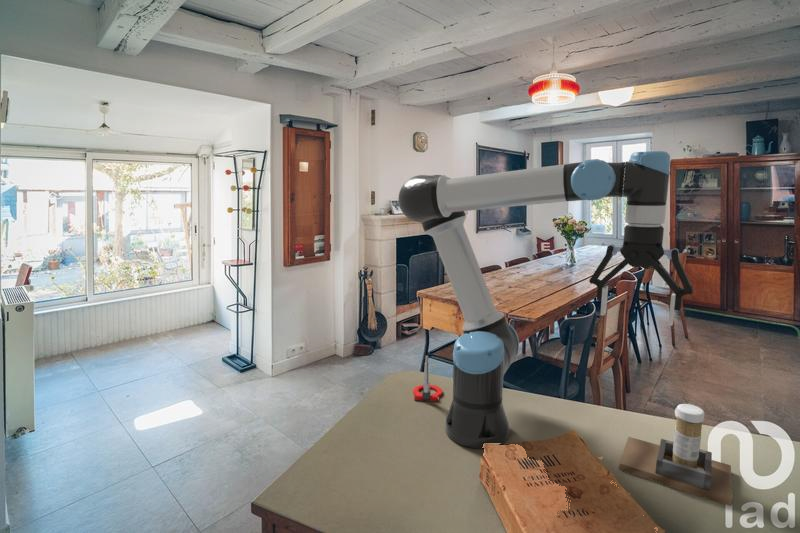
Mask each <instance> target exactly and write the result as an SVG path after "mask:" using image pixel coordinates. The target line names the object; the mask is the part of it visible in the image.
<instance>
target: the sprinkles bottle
mask: <svg viewBox="0 0 800 533" xmlns="http://www.w3.org/2000/svg"><path fill="white" fill-rule="evenodd" d="M675 415H676V425H675V430H674V437H673V442H674V444H673V458H672V462H675V463H679V464H682V465H685V466H689V467H692V468H696V469H697V461H698V457H699V450H700V449H701V440H702V428H703V423H704V420H705V411H704V410H703V409H702V408H701V407H699V406H697V405H694V404H690V403H680V404H678V405H677V406H676V414H675Z"/></svg>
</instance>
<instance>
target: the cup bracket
mask: <svg viewBox="0 0 800 533" xmlns="http://www.w3.org/2000/svg"><path fill="white" fill-rule="evenodd" d="M673 444H674V441H671V440H667V439H664V438H661V439H660V443H659V444H657V443H652V442H649V441H646V440H642V439H638V438H635V437H632V436H627V440H626V442H625V446H624V449H623V452H622V455H621V458H620V460H619V465H618V470H619V471H621V470H623V471H622V472H624V471H626V472H625V473H627V472H629V473H628V474H631V475H634V476H638V477H640V478H643V479H646V478H647V479H646V480H649V479H650V480H649V481H652V480H653V482H655V481H657V482H656V483H658V482H660V483H659V484H662V483H663V484H662V485H665V484H666V485H665V486H668V487H671V486H672V487H671V488H675V489H677V490H681V491H684V492H687V493H689V494H693V495H696V496H700V497H702V498H704V499H709V500H711V501H715V502H718V503H719V504H720V503H721V504H724V505H727V506H730V507H732V505H733V483H732V466H731V464H727V463H724V462H721V461H717V460H714V459H712V455H713V452H712V451H709V450H708V451H707V450H705V449H701V448H700V450H699V457H698V461H697V469H696V468H692V467H689V466H685V465H682V464H679V463H675V462H672V458H673Z"/></svg>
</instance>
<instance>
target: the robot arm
mask: <svg viewBox="0 0 800 533" xmlns="http://www.w3.org/2000/svg"><path fill="white" fill-rule="evenodd" d="M670 163H671V156H670V154H669V152H667V151H662V150H659V151H658V150H657V151H656V150H653V151H652V150H651V151H649V150H647V151H635V152H632V153H631V155H630V158H629V160H628V161H625V162H624V161H622V162H607V161H605V160H601V159H597V158H596V159H594V158H593V159H587V160H584V161H580V162H573V163H572V162H571V163H565V164H556V165H549V166H548V165H547V166H540V167H539V166H538V167H532V168H525V169H517V170H509V171H502V172H501V171H500V172H495V173H493V172H491V173H486V174H478V175H471V176H470V175H469V176H465V177H464V176H462V177H456V178H451V177H448V176H446V175H444V174H443V175H442V174H434V175H429V174H428V175H427V174H419V175H415V176H412V177H410V178H409V179H407V180H406V181H405V182H404V183H403V184H402V186H401V187H400V189H399V193H398V200H397V201H398V205H399V208H400V211H401V212H402V213H403V215H404V216H405V217H406V218H407V219H409V220H411V221H413V222H415V223H421V226H422V228H423V231H424V233H425V234H427V236H431V237H432V238H433V241H434V245H435V246H436V249H437V251H438V254H439V256H440V259H441V263H442V264H443V268H444V269H445V272H446V275H447V277H448V280H449V282H450V283H449V284H450V285H451V288H452V290H453V293H454V295H455V297H456V301H457V303H458V305H459V308H460V311H461V313H462V317H463V318H464V324H463V326H462V328H461V329H462V332H463V334H461V335H460V336H459V337H458V338H456V340H455V342H454V343H453V344H454V345H453V350H452V360H453V361H452V362H453V366H452V368H453V369H452V371H453V372H452V373H453V374H452V376H453V378H452V381H453V382H452V383H453V385H452V387H453V388H452V401H451V403H450V406H449V410H448V413H447V415H446V417H445V433H446V435H447V436H448V437H449V438H450V439H451V440H452V441H453V442H455V443H457V444H458V445H461V446H464V447H466V448H471V449H481V450H482V447H483V444H484V443H503V444H504V443H505V442H506V441H507V440H508V439H509V436H510V435H509V434H510V433H509V432H510V424H509V421H508V417H507V415H506V412H505V409H504V404H503V393H504V391H503V388H504V377H505V374H506V372H507V370H509V368H510V367H511V365H512V363H513V362H514V361H515V359H516V357H517V356H518V354H519V350H520V349H519V348H520V340H519V335H518V333H517V331H516V329H515V328H514V327H513V326H512V325H511V324H509V323H508V320H507V318H506V316H505V314H504V313H503V312H501V311H499V310H497V309H496V306H495V303H494V301H493V298H492V296H491V293H490V291H489V289H488V286H487V283H486V280H485V278H484V275H483V273H482V270H481V267H480V265H479V263H478V260H477V258H476V255H475V252H474V250H473V247H472V243H471V242H470V238H469V236H468V234H467V232H466V228H465V226H464V223H465V221H466V218H467V216H466V212H468V211H469V212H470V211H478V210H479V211H480V210H488V209H489V210H490V209H500V208H509V207H510V208H511V207H521V206H530V205H531V206H533V205H542V204H543V205H545V204H552V203H562V202H563V203H564V202H577V201H597V200H601V199H603V198H626V206H625V218H624V219H625V220H624V223H626V225H625V226H624V231H623V244H622V245H621V246H619V245H618V246H617V245H615V244H609V245H608V246H607V248H606V252H605V255H604V257H603V258H602V260H601V262H600V263H599V265H598V266H597V268H596V270H595V271H594V272H593V274H592V276H591V277H590V278H589V281H588V282H589V283H590V284H592V285H594V286H596V287H597V289H596V290H597V291H596V299H597V301H601V303H600V314H599V315H600V316H603V317H604V316H605V315H606V314H607V305H608V293H609V285H606V284H607V283H608V282H609V281H610V280H611V279H613V278H614V277H615V276H616V275H617V274H618V273H619V272H621V271H622V270H623V269H624V268H625V267H626V266H627V265H629V266H630V267H632V268H639V267H640V268H643V269H649V268H653V270H654V271H656V272H657V273H658V275H659V276H660V277H661V278H662V280H663V281H664V282H665V284H667V286H668V287H669V289H671V291H672V292H673V293H671V296H670V305H669V314H668V323H667V324H668V325H667V326H672V327H673V325H674V320H675V311H678V312H679V311H680V310H681V309H682V304H683V297H684V296H685V295H692V294H693V292H694V286H692V283H691V281H690V279H689V276H688V275H687V273H686V271H685V268H684V266H683V264H682V261H681V259H680V250H679V249H678V248H677V247H676V248H672V249H664V248H663V240H664V232H665V231H664V229H665V227H663V226H662V225H663V224H664V223H665V220H666V213H667V212H666V210H667V200H668V199H667V198H668V192H669V182H670V181H669V180H670V175H671V173H670V170H671V169H670V166H671V164H670ZM619 252H620V254H621V256H622V257H623V260H622V261H621V262H620V263H619V264H617V265H616V266H615V267H614V268H612V270H611V271H609V273H608V274H606V275H605V276H604V277H603V278H602V279H599V278H600V276H601V274H603V272H604V270H605V269H606V267H607V266H608V264H609V263H610V261H611V259H612V258H613V256H615V255H617V254H618V253H619ZM663 256H665V257H666V258H667V259H668V260H670V261H671V263H672V265H673V268H674V269H675V272H676V274H677V276H678V278H679V280H680V283H681V285H682V287H680V285H679V284H678V283H677V282H676V280H675V279H674V278H673V276H671V274H670V273H669V272H668V270H667V269H666V268H665V267H664V265H663V264H662V262H661V261H660V259H662V257H663Z"/></svg>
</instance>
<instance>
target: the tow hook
mask: <svg viewBox="0 0 800 533" xmlns="http://www.w3.org/2000/svg"><path fill="white" fill-rule="evenodd" d="M429 376H430V363H429V355H425V360H424V380H423V381H424V382H423V384H420V385H417V386H415V387H414V388H413V389H412V394H413V395H414V400H415V401H423V402H439V398H440V397H441V396H442V395H443V389H442V388H441V386H440V387H439V386H437V385H433V384H430V383H431V382H430V378H429ZM431 390H433V391H435V393H432V394H431ZM420 391H422V392H420Z"/></svg>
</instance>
